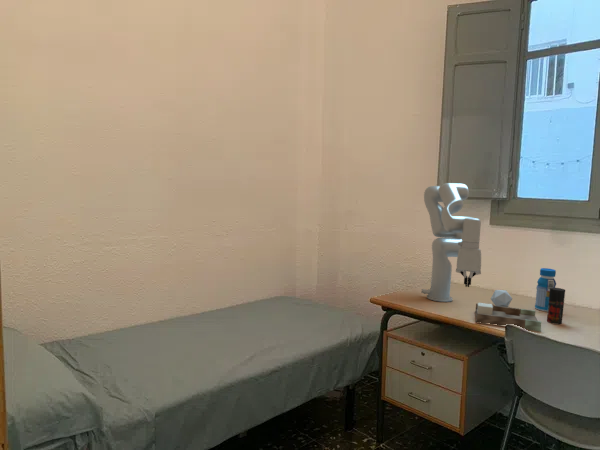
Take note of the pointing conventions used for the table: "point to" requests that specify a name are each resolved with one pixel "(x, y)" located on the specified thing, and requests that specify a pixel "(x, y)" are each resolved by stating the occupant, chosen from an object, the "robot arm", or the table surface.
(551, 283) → the beverage bottle
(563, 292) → the deodorant
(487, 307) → the pale blue block
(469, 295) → the table surface
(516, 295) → the table surface
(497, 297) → the die
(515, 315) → the box
